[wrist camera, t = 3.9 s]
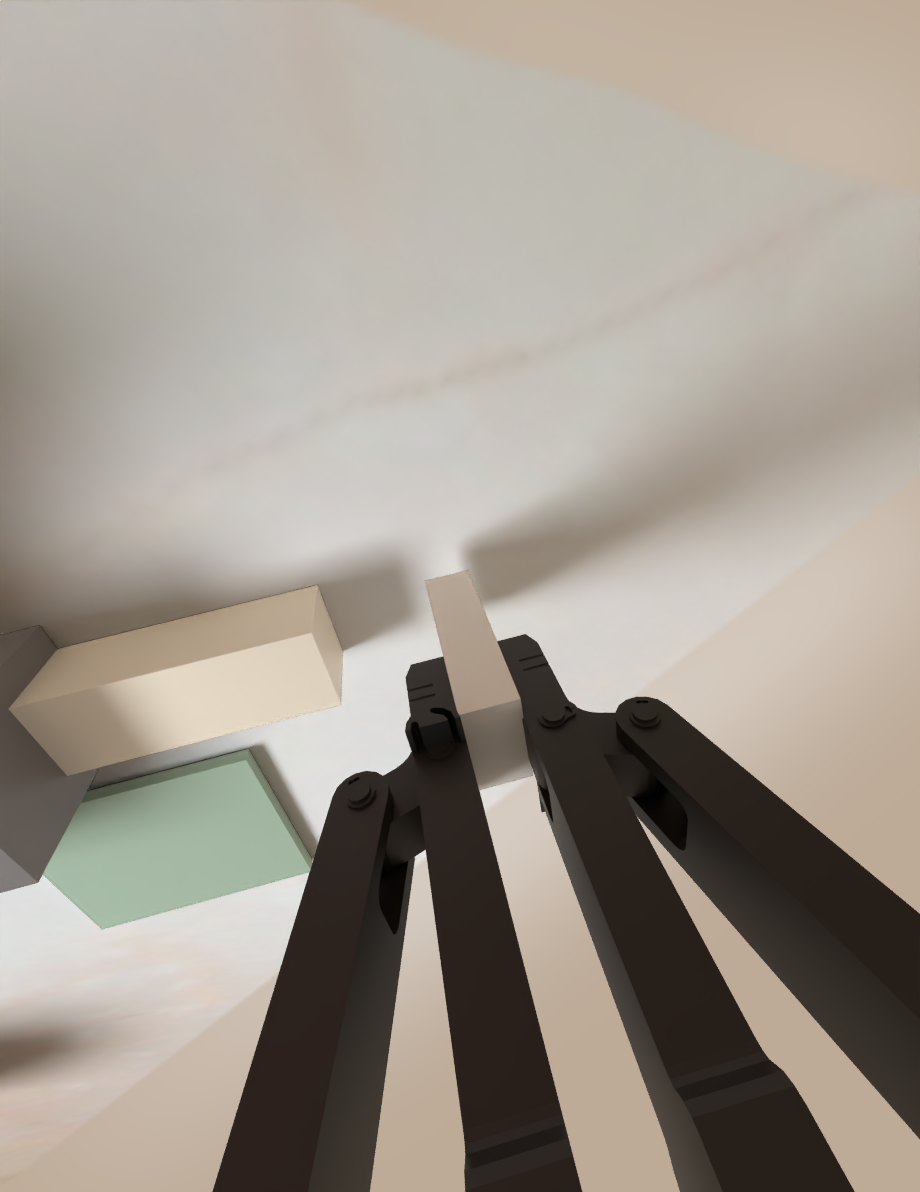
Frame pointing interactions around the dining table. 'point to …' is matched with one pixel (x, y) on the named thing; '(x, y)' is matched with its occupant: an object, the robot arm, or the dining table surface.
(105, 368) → the dining table surface
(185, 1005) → the dining table surface
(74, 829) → the mat
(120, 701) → the plug
